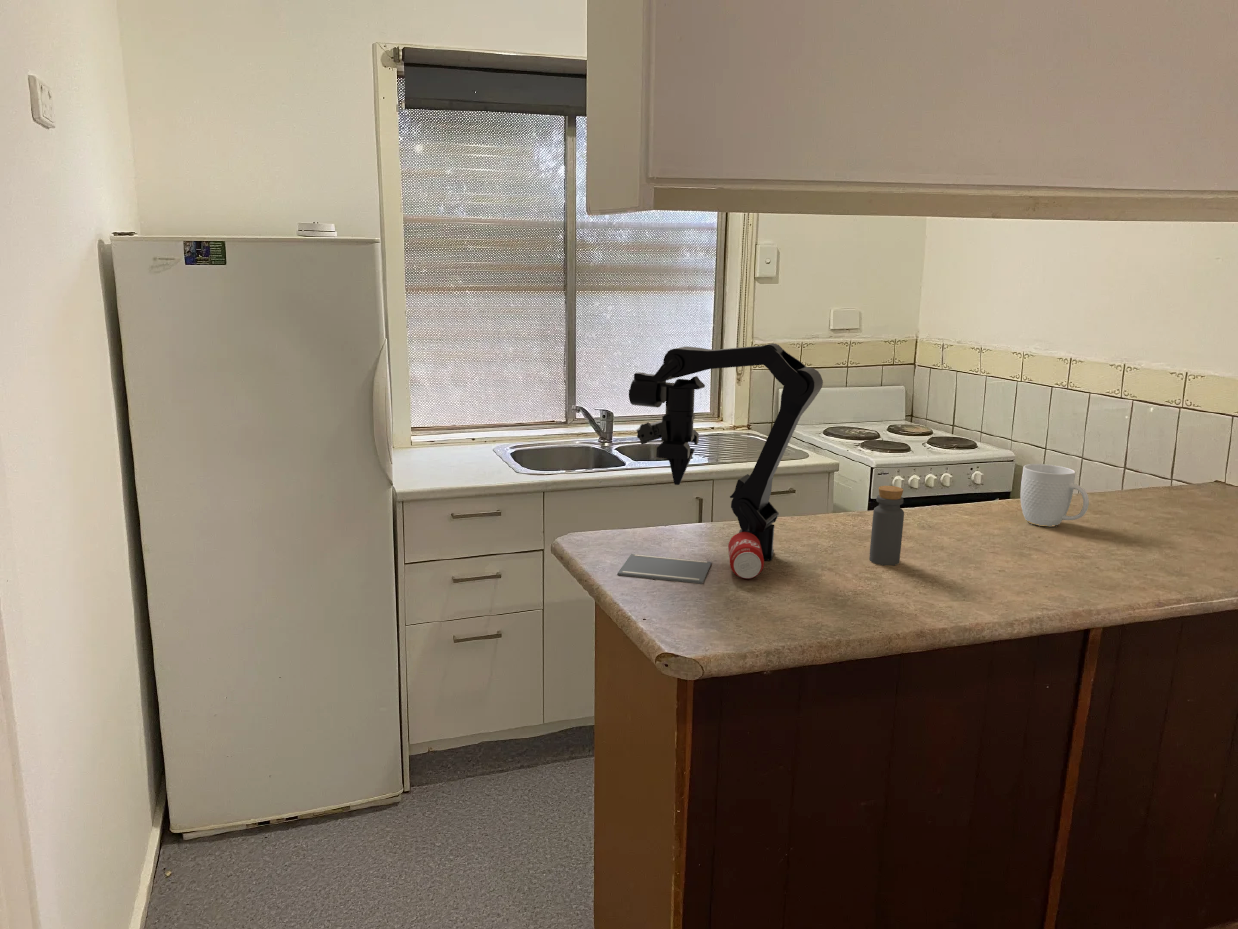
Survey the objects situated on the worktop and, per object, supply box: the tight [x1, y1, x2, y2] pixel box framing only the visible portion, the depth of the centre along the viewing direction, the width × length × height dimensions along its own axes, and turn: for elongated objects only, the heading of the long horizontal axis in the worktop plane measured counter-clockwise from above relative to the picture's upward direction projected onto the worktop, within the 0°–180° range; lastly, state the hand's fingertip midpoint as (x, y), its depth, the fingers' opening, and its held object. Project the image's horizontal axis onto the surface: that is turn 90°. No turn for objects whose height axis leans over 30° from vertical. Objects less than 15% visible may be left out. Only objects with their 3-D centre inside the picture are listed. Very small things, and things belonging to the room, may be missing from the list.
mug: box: [1019, 463, 1090, 526], centre depth 215 cm, size 15×11×13 cm
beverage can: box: [727, 532, 765, 580], centre depth 178 cm, size 6×6×12 cm
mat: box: [617, 553, 712, 585], centre depth 178 cm, size 16×12×1 cm
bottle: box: [868, 485, 905, 566], centre depth 185 cm, size 6×6×15 cm
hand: (677, 484), depth 193 cm, fingers closed
